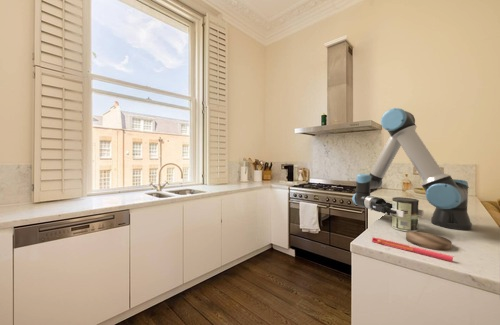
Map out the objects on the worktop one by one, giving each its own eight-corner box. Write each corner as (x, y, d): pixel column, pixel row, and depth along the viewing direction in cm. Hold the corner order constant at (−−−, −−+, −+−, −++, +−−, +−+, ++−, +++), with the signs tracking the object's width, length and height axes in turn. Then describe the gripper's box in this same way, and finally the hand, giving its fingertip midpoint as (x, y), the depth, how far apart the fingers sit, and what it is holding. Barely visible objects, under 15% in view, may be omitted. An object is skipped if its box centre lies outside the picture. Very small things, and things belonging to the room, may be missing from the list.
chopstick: (374, 242, 90) (370, 241, 87) (374, 237, 90) (371, 236, 87) (454, 263, 73) (453, 263, 70) (454, 256, 73) (453, 256, 70)
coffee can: (411, 226, 109) (411, 197, 108) (422, 233, 99) (423, 201, 98) (387, 224, 111) (388, 196, 110) (397, 231, 101) (398, 200, 100)
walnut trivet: (427, 235, 95) (427, 231, 95) (462, 249, 81) (462, 244, 81) (397, 236, 93) (397, 232, 93) (427, 250, 79) (428, 245, 79)
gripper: (392, 209, 124) (432, 220, 103) (357, 211, 120) (392, 223, 98) (392, 196, 124) (433, 204, 103) (357, 197, 119) (392, 206, 98)
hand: (413, 214), depth 100 cm, fingers closed on coffee can, 10 cm apart
